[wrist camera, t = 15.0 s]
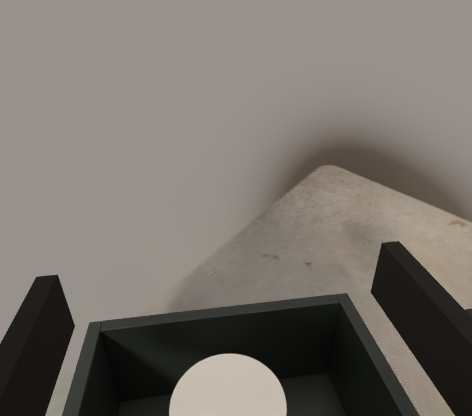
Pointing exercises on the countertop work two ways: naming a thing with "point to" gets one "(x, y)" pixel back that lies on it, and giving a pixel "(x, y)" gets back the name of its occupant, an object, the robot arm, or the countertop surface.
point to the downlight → (228, 389)
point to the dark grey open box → (244, 343)
